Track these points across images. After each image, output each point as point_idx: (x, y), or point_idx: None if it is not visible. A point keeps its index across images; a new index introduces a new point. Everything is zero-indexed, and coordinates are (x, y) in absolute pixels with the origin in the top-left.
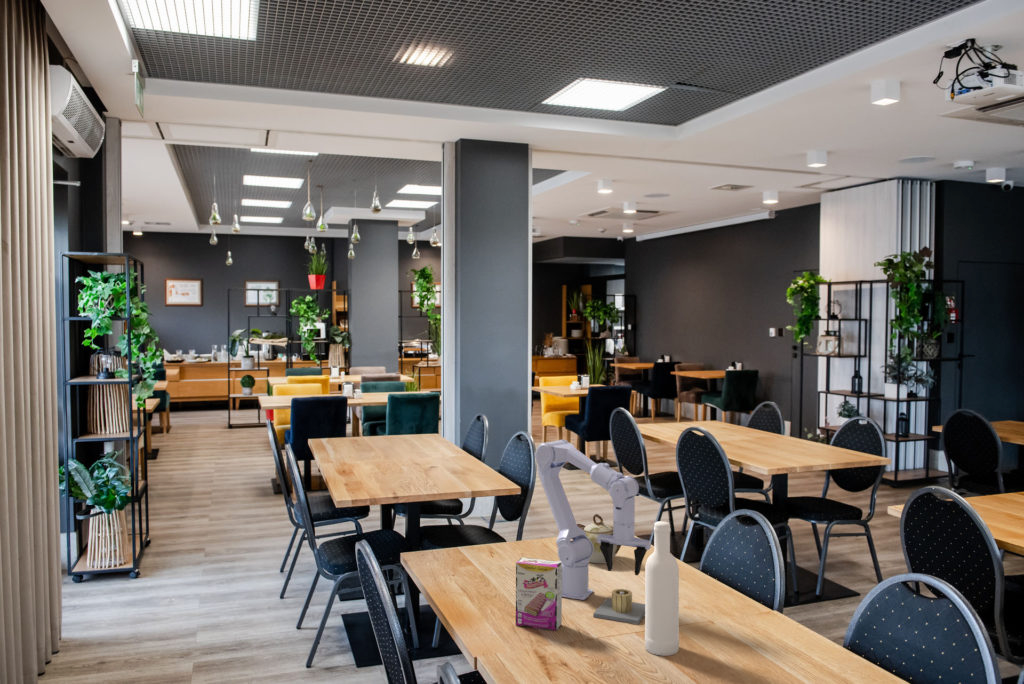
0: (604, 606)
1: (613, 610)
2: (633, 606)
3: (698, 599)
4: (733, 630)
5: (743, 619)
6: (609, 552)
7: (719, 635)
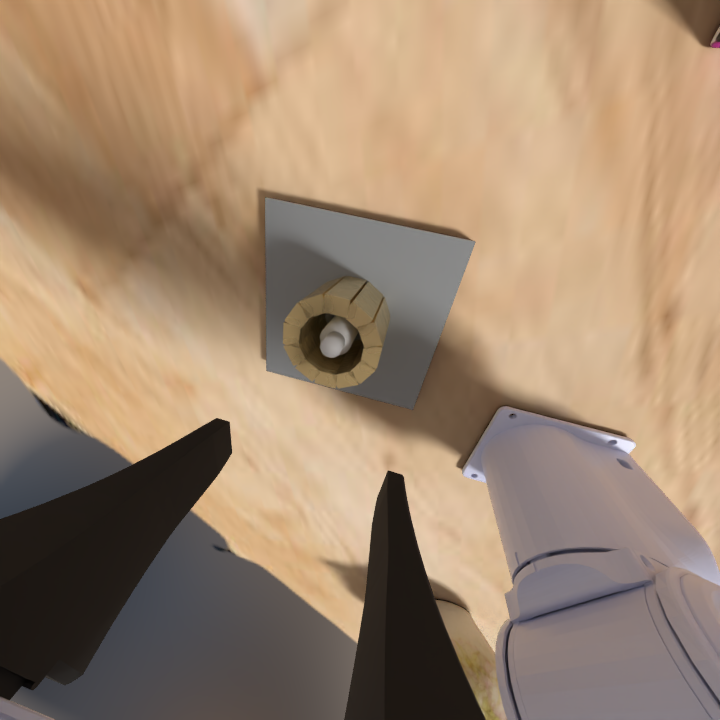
0: (421, 332)
1: (381, 294)
2: None
3: (182, 433)
4: (5, 234)
5: (39, 326)
6: (373, 653)
7: (4, 170)
